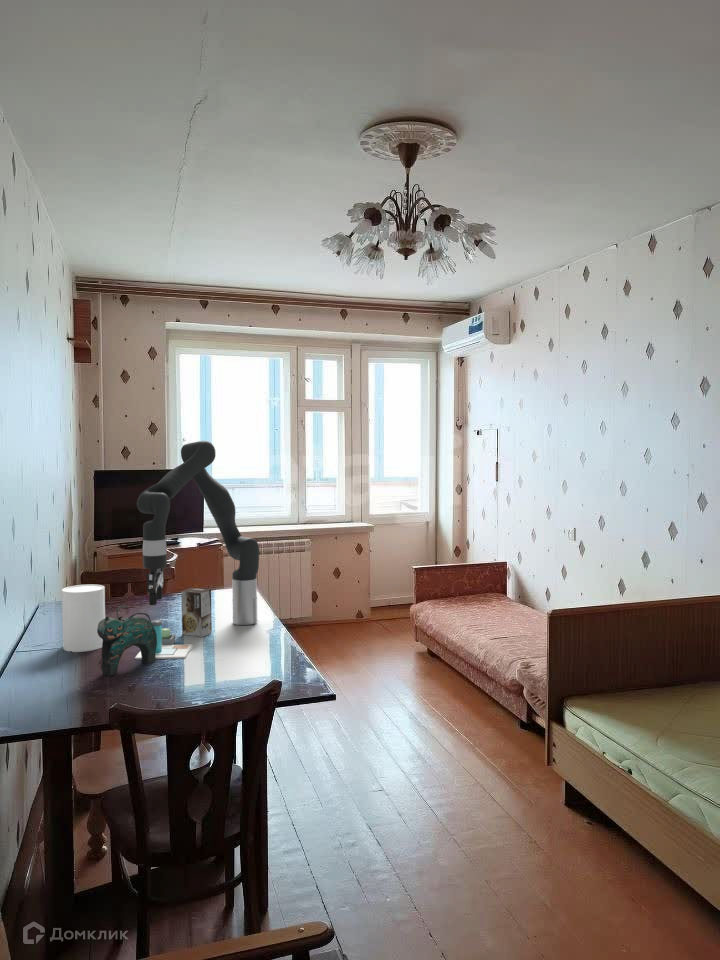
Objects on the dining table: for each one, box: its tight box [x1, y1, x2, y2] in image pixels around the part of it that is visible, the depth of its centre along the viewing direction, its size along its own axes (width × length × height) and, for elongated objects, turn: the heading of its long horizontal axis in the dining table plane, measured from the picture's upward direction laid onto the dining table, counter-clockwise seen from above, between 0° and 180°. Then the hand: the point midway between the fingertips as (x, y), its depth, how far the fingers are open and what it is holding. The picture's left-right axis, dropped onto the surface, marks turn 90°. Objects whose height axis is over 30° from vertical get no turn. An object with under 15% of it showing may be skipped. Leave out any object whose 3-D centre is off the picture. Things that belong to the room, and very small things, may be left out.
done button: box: [162, 627, 171, 639], centre depth 245 cm, size 4×4×3 cm
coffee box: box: [180, 587, 213, 638], centre depth 258 cm, size 9×6×16 cm
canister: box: [61, 583, 106, 653], centre depth 242 cm, size 14×14×20 cm
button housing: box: [162, 634, 176, 645], centre depth 245 cm, size 6×6×2 cm
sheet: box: [134, 643, 194, 661], centre depth 235 cm, size 16×14×1 cm
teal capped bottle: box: [151, 619, 163, 653], centre depth 233 cm, size 4×4×10 cm
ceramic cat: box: [97, 605, 157, 677], centre depth 218 cm, size 20×6×20 cm, turn 146°
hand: (155, 601), depth 233 cm, fingers open, 8 cm apart
